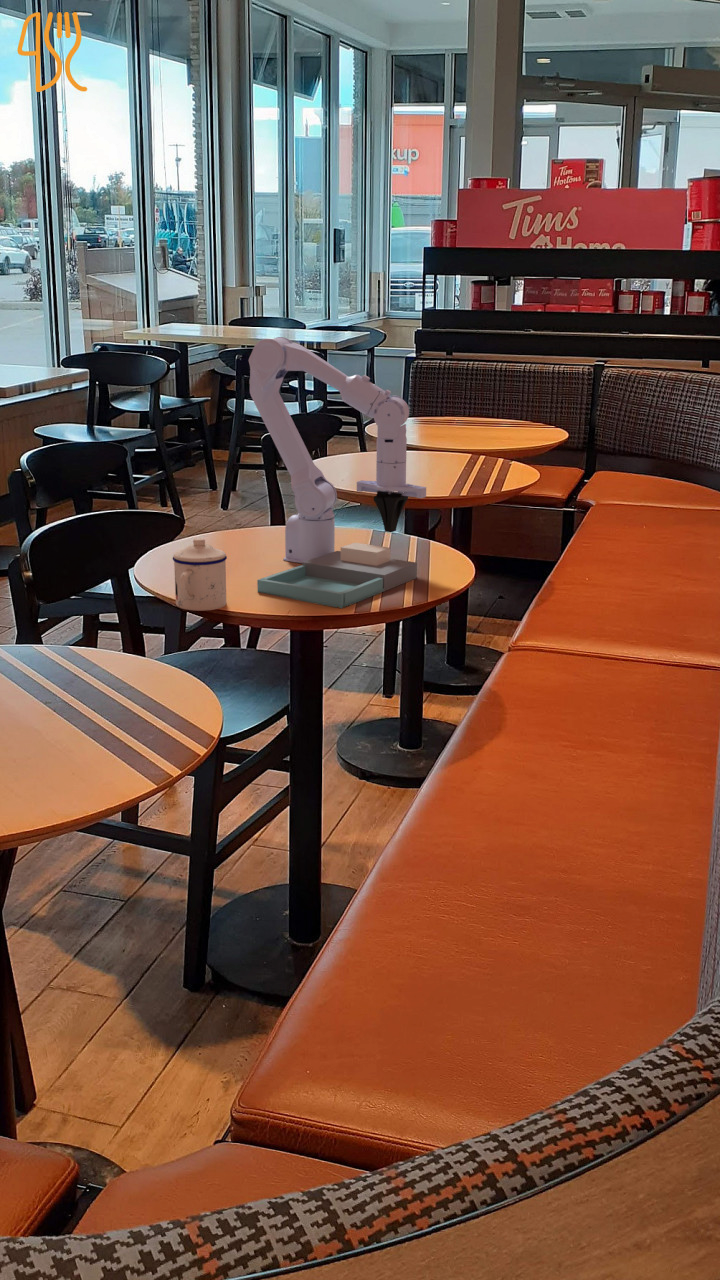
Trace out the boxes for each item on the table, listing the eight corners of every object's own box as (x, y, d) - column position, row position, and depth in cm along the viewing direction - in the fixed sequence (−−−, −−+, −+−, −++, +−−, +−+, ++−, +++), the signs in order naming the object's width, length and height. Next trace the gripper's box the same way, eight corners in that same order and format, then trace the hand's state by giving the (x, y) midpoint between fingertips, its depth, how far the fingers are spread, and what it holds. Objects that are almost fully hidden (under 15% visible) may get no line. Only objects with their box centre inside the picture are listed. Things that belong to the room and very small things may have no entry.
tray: (257, 593, 204) (257, 579, 203) (302, 577, 215) (302, 564, 214) (341, 608, 195) (341, 594, 194) (384, 591, 206) (384, 577, 205)
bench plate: (302, 577, 215) (302, 562, 214) (337, 565, 225) (337, 550, 224) (384, 591, 206) (384, 575, 205) (416, 578, 216) (417, 562, 215)
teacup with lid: (188, 597, 201) (185, 532, 198) (236, 601, 199) (234, 535, 195) (157, 614, 190) (154, 546, 187) (208, 619, 188) (206, 550, 184)
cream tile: (340, 560, 216) (340, 547, 216) (354, 555, 220) (354, 542, 220) (376, 565, 212) (376, 552, 211) (390, 560, 216) (390, 547, 216)
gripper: (348, 460, 219) (348, 530, 223) (413, 467, 211) (412, 539, 215) (367, 456, 225) (367, 524, 228) (432, 462, 217) (430, 532, 221)
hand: (390, 531), depth 222 cm, fingers closed
